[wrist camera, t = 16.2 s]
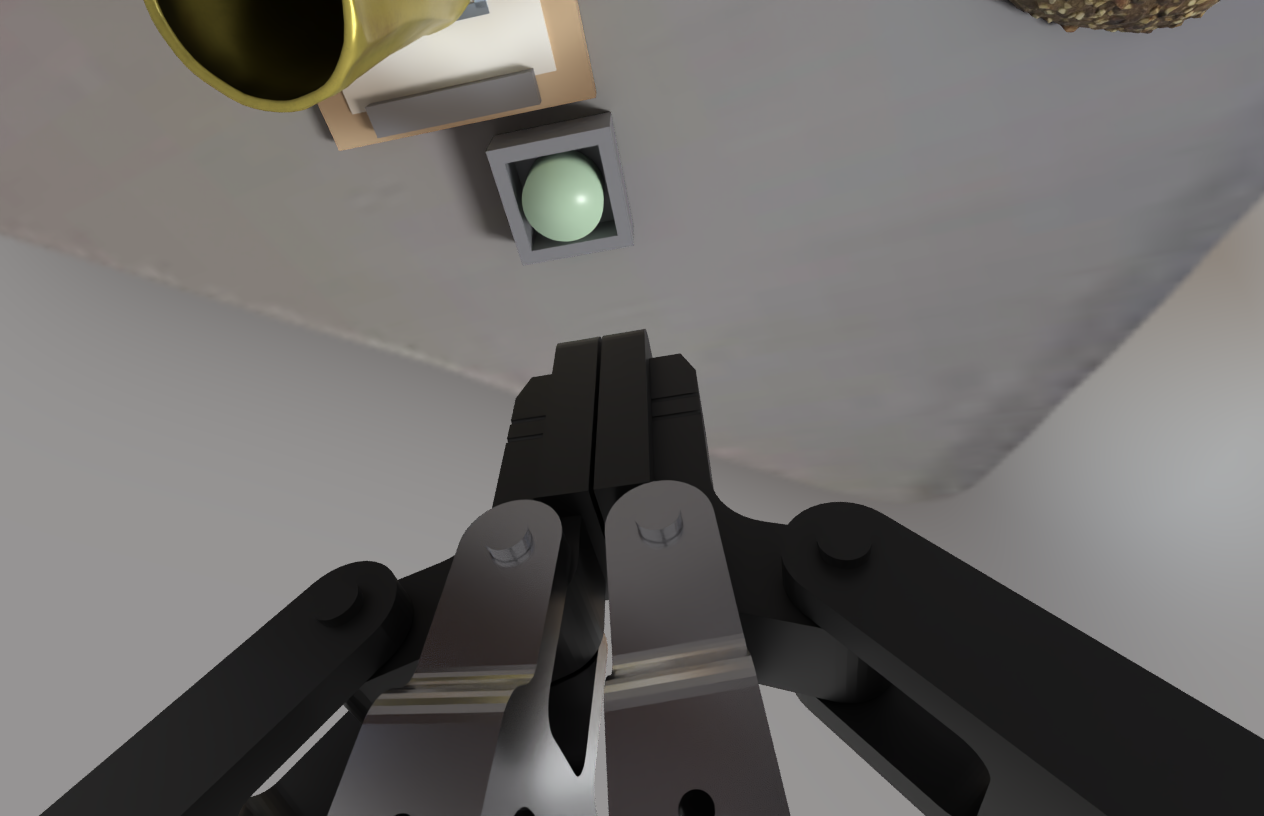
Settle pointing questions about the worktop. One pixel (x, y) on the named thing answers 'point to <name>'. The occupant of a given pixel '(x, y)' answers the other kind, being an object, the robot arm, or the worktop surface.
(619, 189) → the button housing
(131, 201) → the worktop surface
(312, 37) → the vase
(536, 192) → the button
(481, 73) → the clipboard
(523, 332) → the worktop surface
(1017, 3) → the bread roll
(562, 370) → the robot arm
